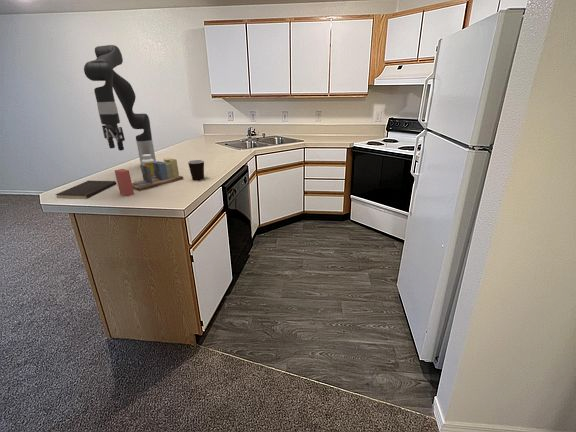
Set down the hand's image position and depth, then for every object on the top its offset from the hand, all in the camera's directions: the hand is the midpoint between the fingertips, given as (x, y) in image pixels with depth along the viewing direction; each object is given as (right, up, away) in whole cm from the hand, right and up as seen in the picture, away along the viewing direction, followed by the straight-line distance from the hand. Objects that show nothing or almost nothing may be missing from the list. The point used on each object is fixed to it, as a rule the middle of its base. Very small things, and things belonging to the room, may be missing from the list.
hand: (116, 149), depth 143 cm
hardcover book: (-23, -19, +15) cm, 33 cm away
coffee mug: (+29, -10, +33) cm, 45 cm away
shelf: (+8, -13, +25) cm, 30 cm away
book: (0, -20, +9) cm, 22 cm away
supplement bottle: (-1, -8, +37) cm, 38 cm away
